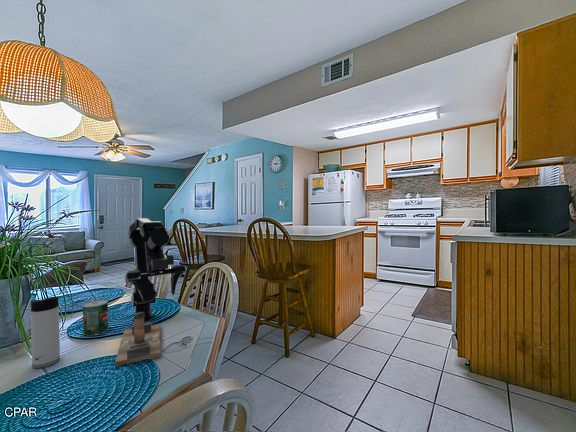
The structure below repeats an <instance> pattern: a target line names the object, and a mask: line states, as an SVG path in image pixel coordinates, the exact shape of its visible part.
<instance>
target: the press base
mask: <svg viewBox="0 0 576 432" xmlns="http://www.w3.org/2000/svg"><path fill="white" fill-rule="evenodd" d="M144 337H148V340H149V342H148V345H144V346H139V347H134V348H130V343H131V340H132V339H134V324H132V328H127V329H124V330H123V334H122V337H121V340H120V344H119V348H118V351H117V355H116V358H115V361H114V364H115V365H114V368H119V367H121V366H120V365H123V366H125V365H124V364H127V365H130V364H129V363H132V364H134V363H133V362H136V361H140V360H145V359H149V360H153V359H158V358H161V324H160V323H157V324H152V322H144ZM145 361H146V360H145ZM140 362H141V361H140ZM136 363H137V362H136Z"/></svg>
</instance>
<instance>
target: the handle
mask: <svg viewBox="0 0 576 432" xmlns="http://www.w3.org/2000/svg"><path fill="white" fill-rule="evenodd" d="M133 318H134V321H133V325H134V339H132V340H131V343H130V348H134V347H139V346H144V345H148V342H149V340H148V337H144V323H145V320H144V312H138V313H136V312H135V313H133Z"/></svg>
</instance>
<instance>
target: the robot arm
mask: <svg viewBox="0 0 576 432" xmlns="http://www.w3.org/2000/svg"><path fill="white" fill-rule="evenodd" d="M127 233H128V235H127V236H128V239H129V240H130V245H131V246H132V247H133V248H134V253H135V254H134V256H135V267H136V270H135V269H134V270H128V271H127V272H126V274H125V276H124V280H125V283H127V284H128V283H129V285H133V286H134V287H133V292H131V293H132V294H131V297H130V301H131V302H130V303H131V306H132V307H133V308H135V313H138V312H144V321H149V320H150V319H151V318H152V317H153V316H154V315H155V313H152V311H151V310H152V306H151V304H155V303H156V299H157V294H158V293H157V291H156V289H155V288H154V283H153V282H151V280H150V279H149V278H150V277H157V276H158V277H159V276H164V275H171V276H170V290H171V291H170V292H171V295H172V296H175V291H176V288H177V284H178V280H179V278H180V277H181V276H182V275H183V274H185V273H186V272H187V268H186V265H185V264H177V265H174V264H175V260H174V255H172V254H169V255H166V256H165V253H164V248H165V246H166V245H167V244H168V243H169V241H170V235H169V234H168V229H167V228H166V227H165V225H164V223H163V222H162V221H160V220H159V221H158V220H157V221H152V220H150V218H147V217H138V218H135V220H134V222H133V223H132V224H131V225H129V227H128V232H127ZM171 265H172V267H171V268H169V266H171ZM150 317H151V318H150ZM149 318H150V319H149ZM133 319H134V317H133V318H132V319H131V321H132V320H133ZM148 319H149V320H148Z"/></svg>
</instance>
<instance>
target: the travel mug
mask: <svg viewBox="0 0 576 432" xmlns="http://www.w3.org/2000/svg"><path fill="white" fill-rule="evenodd" d="M30 334H31V336H30V338H31V339H30V340H31V367H32V368H34V369H43V368H47V367H49V366H52V365H54V364H56V363H58V362H59V360H60V359H61V355H60V352H61V351H60V350H61V349H60V348H61V347H60V307H59V296H49V297H46V298H42V299H35V300H32V301H30Z"/></svg>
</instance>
